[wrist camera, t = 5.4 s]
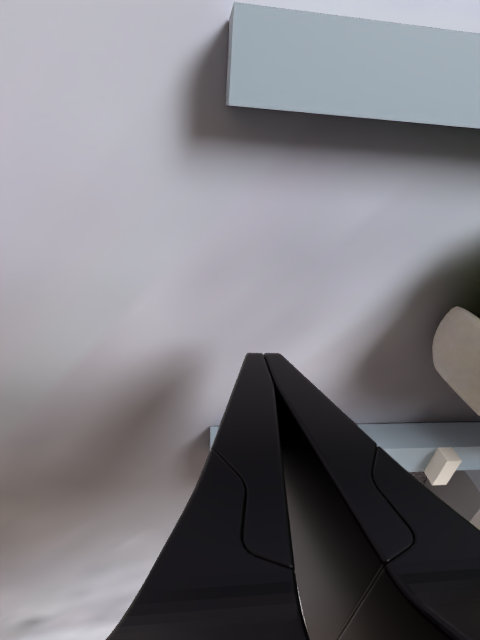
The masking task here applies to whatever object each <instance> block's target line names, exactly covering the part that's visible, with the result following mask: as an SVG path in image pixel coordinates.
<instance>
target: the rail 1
mask: <svg viewBox="0 0 480 640" xmlns="http://www.w3.org/2000/svg"><path fill="white" fill-rule="evenodd" d="M226 105H229V106H240V107H251V108H261V109H272V110H283V111H294V112H305V113H315V114H326V115H337V116H348V117H359V118H370V119H380V120H391V121H402V122H413V123H424V124H434V125H445V126H456V127H467V128H478V129H480V34H479V33H471V32H463V31H455V30H448V29H440V28H432V27H424V26H416V25H409V24H401V23H393V22H385V21H377V20H369V19H362V18H354V17H346V16H338V15H330V14H323V13H315V12H307V11H299V10H291V9H283V8H276V7H268V6H260V5H252V4H244V3H237V2H234V4H233V8H232V11H231V15H230V22H229V43H228V64H227V85H226Z"/></svg>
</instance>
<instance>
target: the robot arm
mask: <svg viewBox="0 0 480 640" xmlns="http://www.w3.org/2000/svg"><path fill="white" fill-rule="evenodd" d="M297 587H298V589H297ZM298 591H299V596H300V600H301V604H302V609H303V613H304V618H305V622H306V626H307V629H306V626H305V623H304V619H303V616H302V611H301V606H300V601H299V596H298ZM307 631H308V632H307ZM106 640H480V530H479V529H478V528H476V527H475V526H474V525H473V524H471V523H470V522H469V521H468V520H466V519H465V518H464V517H463V516H461V515H460V514H459V513H458V512H456V511H455V510H454V509H452V508H451V507H450V506H449V505H447V504H446V503H445V502H444V501H442V500H441V499H440V498H439V497H438V496H436V495H435V494H434V493H433V492H431V491H430V490H429V489H428V488H427V487H425V486H424V485H423V484H422V483H421V482H419V481H418V480H417V479H416V478H415V477H413V476H412V475H411V474H410V473H409V472H408V471H407V470H406V469H404V468H403V467H402V466H401V465H400V464H399V463H398V462H397V461H395V460H394V459H393V458H392V457H391V456H390V455H389V454H388V453H387V452H386V451H385V450H384V449H382V448H381V447H380V446H377V443H376V442H375V441H374V440H373V439H371V438H370V437H369V436H368V435H367V434H366V433H365V432H364V431H363V430H362V429H361V428H360V427H359V426H358V425H356V424H355V423H354V422H353V421H352V420H351V419H350V418H349V417H348V416H347V415H346V414H345V413H344V412H342V411H341V410H340V409H339V408H338V407H337V406H336V405H335V404H334V403H333V402H332V401H331V400H330V399H328V398H327V397H326V396H325V395H324V394H323V393H322V392H321V391H320V390H319V389H318V388H317V387H316V386H314V385H313V384H312V383H311V382H310V381H309V380H308V379H307V378H306V377H305V376H304V375H303V374H302V373H300V372H299V371H298V370H297V369H296V368H295V367H294V366H293V365H292V364H291V363H290V362H289V361H288V360H286V359H285V358H284V357H283V356H282V355H281V354H279V353H265V354H264V355H263V354H262V353H247V354H246V356H245V359H244V362H243V364H242V367H241V370H240V372H239V375H238V378H237V380H236V383H235V386H234V388H233V391H232V394H231V396H230V399H229V402H228V404H227V407H226V410H225V412H224V415H223V418H222V420H221V423H220V426H219V429H218V431H217V434H216V437H215V439H214V442H213V445H212V447H211V451H210V452H209V455H208V457H207V460H206V463H205V465H204V468H203V470H202V472H201V475H200V477H199V480H198V482H197V484H196V487H195V489H194V491H193V493H192V495H191V497H190V499H189V501H188V503H187V505H186V507H185V509H184V511H183V513H182V515H181V516H180V518H179V520H178V522H177V524H176V526H175V527H174V529H173V531H172V533H171V535H170V536H169V538H168V540H167V542H166V544H165V546H164V547H163V549H162V551H161V553H160V555H159V557H158V558H157V560H156V562H155V564H154V566H153V567H152V569H151V571H150V573H149V575H148V577H147V578H146V580H145V582H144V584H143V585H142V587H141V589H140V590H139V592H138V594H137V596H136V597H135V599H134V600H133V602H132V604H131V605H130V607H129V608H128V610H127V611H126V613H125V614H124V616H123V617H122V619H121V620H120V622H119V623H118V625H117V626H116V627H115V629H114V630H113V631H112V633H111V634H110V635H109V636H108V637H107V639H106Z"/></svg>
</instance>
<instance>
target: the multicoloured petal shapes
mask: <svg viewBox="0 0 480 640" xmlns="http://www.w3.org/2000/svg"><path fill="white" fill-rule="evenodd" d="M432 356H433V363H434V367H435V369H436V371H437V372H438V373H439V374H440V375H441V376H442V378H443V379H444V380H445V381H446V382H447V383H448V384H449V385H450V387H451V388H452V389H453V390H454V391H455V392H456V393H457V394H458V395H459V396H460V397H461V398H462V399H463V400H464V401H465V402H466V403H467V404H468V405H469V406H470V407H471V409H472V410H473V411H474V412H475V413H476V414H478V415H479V416H480V319H479V318H478V317H477V316H475V315H474V314H472V313H471V312H469V311H467V310H466V309H464V308H461V307H459V306H456V307H454V308H452V309H451V310H450V311H449V312H448V313H447V314H446V315H445V316H444V318H443V319H442V321H441V322H440V324H439V326H438V328H437V330H436V333H435V335H434V339H433V346H432Z"/></svg>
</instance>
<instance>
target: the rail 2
mask: <svg viewBox="0 0 480 640" xmlns="http://www.w3.org/2000/svg"><path fill="white" fill-rule="evenodd" d="M356 425H358V426H359V427H360V428H361V429H362V430H363V431H364V432H365V433H366V434H367V435H368V436H369V437H370V438H371V439H373V440H374V441H375V442H376V443H377V446H380V447H381V448H382V449H384V450H385V451H386V452H387V453H388V454H389V455H390V456H391V457H392V458H393V459H394V460H395V461H397V462H398V463H399V464H400V465H401V466H402V467H403V468H404V469H406V470H407V471H408V472H424V473H425V474H426V476H427V478H428V479H429V481H430V483H431V484H432V485H446V484H447V483H448V481H449V480H450V478H451V477H452V475H453V474H454V472H455V471H456V470H480V422H456V423H397V424H356ZM218 429H219V427H210V443H209V452H210V451H211V447H212V445H213V442H214V439H215V437H216V434H217V431H218Z"/></svg>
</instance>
